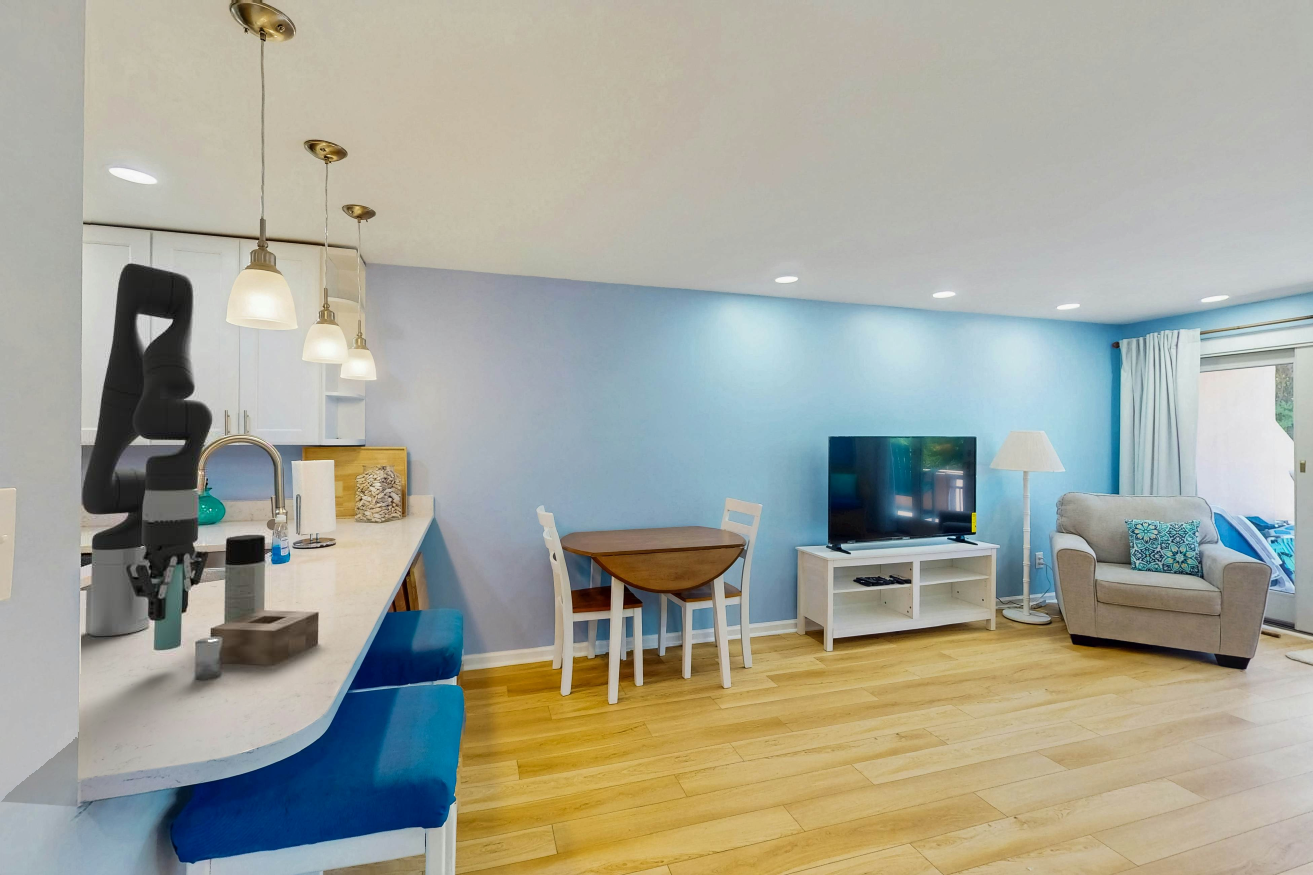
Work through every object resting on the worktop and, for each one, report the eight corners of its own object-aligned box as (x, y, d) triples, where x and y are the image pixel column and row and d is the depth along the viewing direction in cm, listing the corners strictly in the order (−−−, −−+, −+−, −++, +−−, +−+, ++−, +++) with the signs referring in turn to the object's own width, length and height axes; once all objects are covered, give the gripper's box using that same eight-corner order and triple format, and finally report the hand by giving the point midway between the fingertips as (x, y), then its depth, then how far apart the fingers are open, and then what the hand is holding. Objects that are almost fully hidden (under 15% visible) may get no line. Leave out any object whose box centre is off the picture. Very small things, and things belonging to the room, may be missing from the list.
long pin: (148, 649, 102) (150, 566, 102) (167, 642, 106) (169, 562, 106) (167, 650, 102) (170, 567, 102) (186, 643, 105) (188, 563, 105)
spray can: (272, 633, 124) (273, 535, 124) (239, 643, 117) (241, 539, 117) (248, 630, 126) (250, 533, 126) (215, 639, 119) (217, 538, 120)
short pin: (189, 680, 99) (189, 643, 99) (207, 672, 103) (207, 636, 103) (209, 681, 99) (210, 644, 99) (227, 672, 102) (227, 637, 102)
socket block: (209, 662, 107) (210, 628, 107) (260, 640, 119) (260, 609, 119) (273, 665, 106) (274, 630, 106) (318, 642, 118) (318, 611, 118)
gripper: (186, 510, 111) (183, 604, 111) (110, 520, 97) (106, 628, 97) (224, 511, 110) (222, 606, 110) (153, 521, 96) (150, 630, 96)
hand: (168, 615), depth 104 cm, fingers closed on long pin, 3 cm apart
